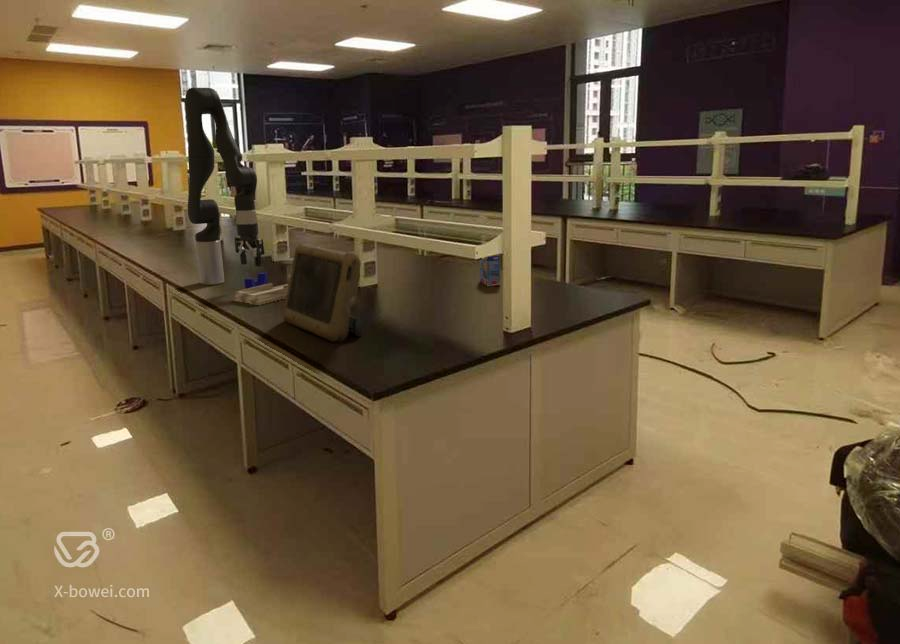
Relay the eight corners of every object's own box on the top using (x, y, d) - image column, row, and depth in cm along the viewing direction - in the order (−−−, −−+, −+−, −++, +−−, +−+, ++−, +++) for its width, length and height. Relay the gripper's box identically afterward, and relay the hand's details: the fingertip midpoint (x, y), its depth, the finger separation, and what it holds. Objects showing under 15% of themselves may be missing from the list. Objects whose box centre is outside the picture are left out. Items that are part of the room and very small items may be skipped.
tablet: (274, 323, 203) (267, 244, 196) (311, 315, 213) (306, 239, 206) (334, 345, 181) (328, 256, 174) (373, 334, 190) (369, 250, 183)
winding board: (233, 300, 233) (229, 267, 229) (291, 286, 254) (288, 256, 250) (258, 305, 225) (255, 271, 222) (315, 291, 246) (313, 259, 243)
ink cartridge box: (478, 282, 260) (478, 246, 256) (491, 281, 261) (491, 245, 257) (487, 287, 251) (487, 250, 247) (500, 285, 252) (501, 249, 248)
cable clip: (257, 287, 254) (256, 272, 252) (268, 288, 253) (266, 273, 251) (242, 294, 243) (240, 278, 241) (253, 295, 242) (251, 279, 240)
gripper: (226, 222, 242) (231, 265, 246) (250, 224, 234) (254, 268, 238) (243, 220, 248) (247, 262, 252) (267, 222, 240) (271, 265, 244)
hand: (251, 265), depth 245 cm, fingers open, 8 cm apart
